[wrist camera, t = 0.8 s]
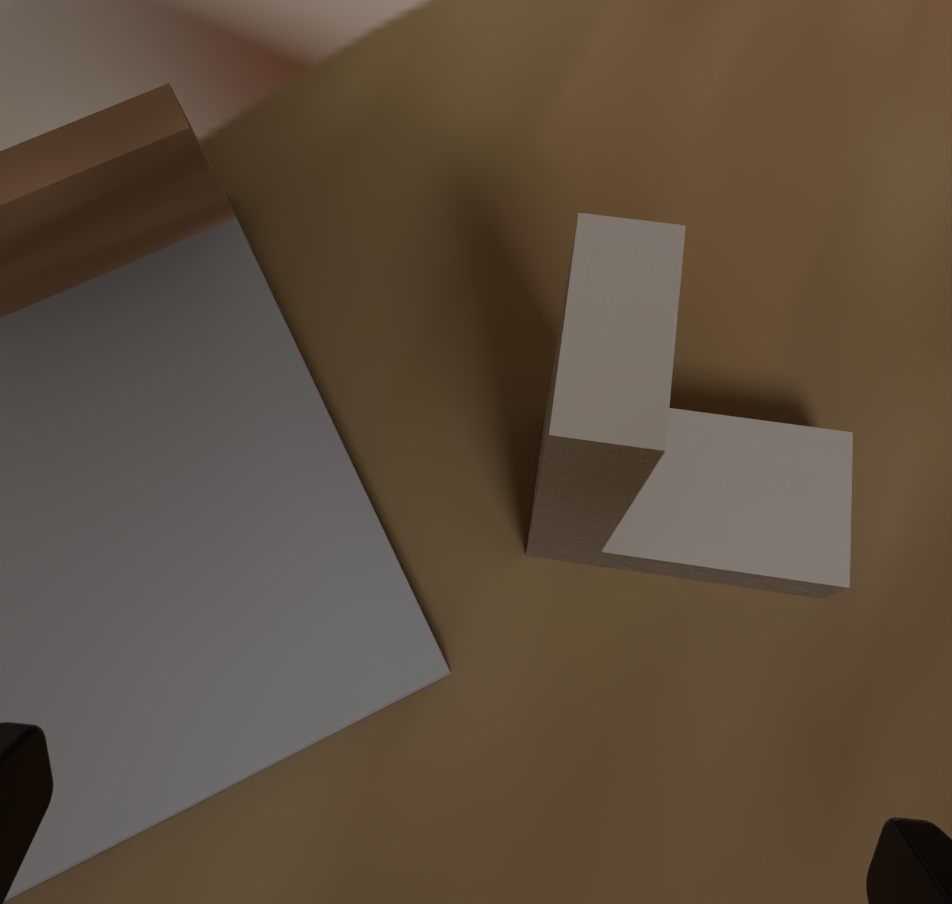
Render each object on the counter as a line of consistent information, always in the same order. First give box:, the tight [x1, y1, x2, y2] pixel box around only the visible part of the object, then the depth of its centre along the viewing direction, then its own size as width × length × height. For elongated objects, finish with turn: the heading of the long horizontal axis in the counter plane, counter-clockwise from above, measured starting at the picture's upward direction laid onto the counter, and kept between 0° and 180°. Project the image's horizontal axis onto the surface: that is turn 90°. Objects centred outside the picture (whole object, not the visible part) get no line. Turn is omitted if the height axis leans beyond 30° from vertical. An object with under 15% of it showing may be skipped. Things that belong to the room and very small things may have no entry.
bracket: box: [526, 213, 853, 598], centre depth 18 cm, size 4×8×10 cm, turn 81°
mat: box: [0, 186, 451, 902], centre depth 23 cm, size 16×18×1 cm
